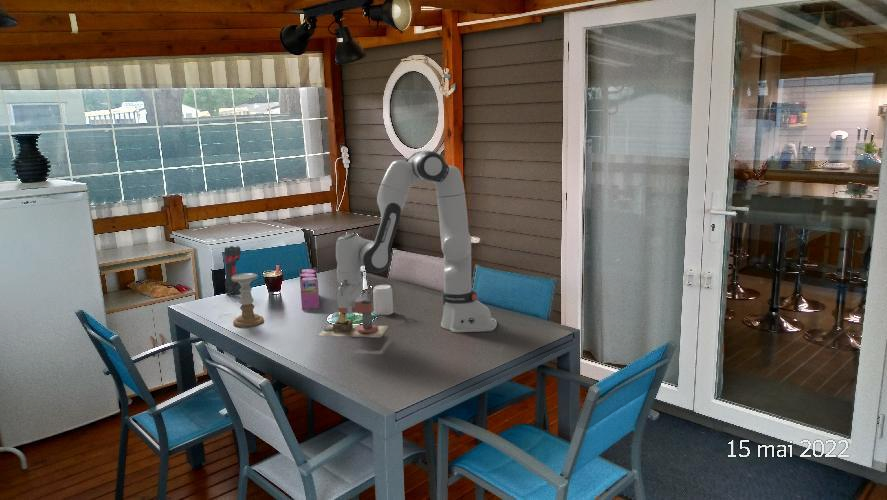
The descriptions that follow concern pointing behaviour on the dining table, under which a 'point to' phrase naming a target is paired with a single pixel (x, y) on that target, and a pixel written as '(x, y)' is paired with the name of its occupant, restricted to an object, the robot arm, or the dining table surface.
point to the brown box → (342, 327)
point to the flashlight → (232, 269)
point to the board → (355, 332)
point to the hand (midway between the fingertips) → (351, 312)
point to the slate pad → (328, 329)
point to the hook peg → (342, 318)
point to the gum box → (309, 289)
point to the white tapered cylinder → (383, 300)
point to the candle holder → (246, 302)
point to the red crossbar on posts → (363, 315)
